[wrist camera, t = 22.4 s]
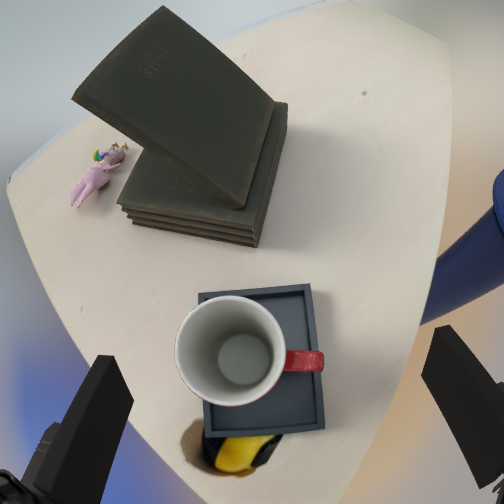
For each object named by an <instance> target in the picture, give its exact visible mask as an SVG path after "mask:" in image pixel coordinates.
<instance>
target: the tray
mask: <svg viewBox="0 0 504 504" xmlns="http://www.w3.org/2000/svg"><path fill="white" fill-rule="evenodd" d="M230 295H232V296H241V297H245V298H248V299H251V300H253V301H255V302H257V303H259V304H260V305H262V306H263V307H265V308H266V309H267V310H268V311H269V312H270V313H271V314H272V315H273V316H274V317H275V319H276V320H277V322H278V323H279V326H280V327H281V330H282V332H283V335H284V338H285V345H286V350H307V351H318V344H317V335H316V326H315V318H314V310H313V302H312V295H311V287H310V283H309V284H304V285H303V284H299V285H289V286H278V287H267V288H256V289H244V290H232V291H219V292H206V293H198V305H199V304H201V303H203V302H205V301H207V300H209V299H212V298H215V297H220V296H230ZM203 412H204V425H205V437H246V436H263V435H276V434H287V433H296V432H304V431H312V430H318V429H319V430H320V429H325V417H324V405H323V393H322V383H321V372H295V371H282V374H281V376H280V378H279V380H278V381H277V383H276V384H275V386H274V387H273V388H272V389H271V390H270V391H269V392H268V393H267V394H266V395H264V396H263V397H262V398H260V399H258V400H256V401H254V402H252V403H249V404H246V405H242V406H234V407H229V406H220V405H216V404H213V403H210V402H207V401H205V400H203Z"/></svg>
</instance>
